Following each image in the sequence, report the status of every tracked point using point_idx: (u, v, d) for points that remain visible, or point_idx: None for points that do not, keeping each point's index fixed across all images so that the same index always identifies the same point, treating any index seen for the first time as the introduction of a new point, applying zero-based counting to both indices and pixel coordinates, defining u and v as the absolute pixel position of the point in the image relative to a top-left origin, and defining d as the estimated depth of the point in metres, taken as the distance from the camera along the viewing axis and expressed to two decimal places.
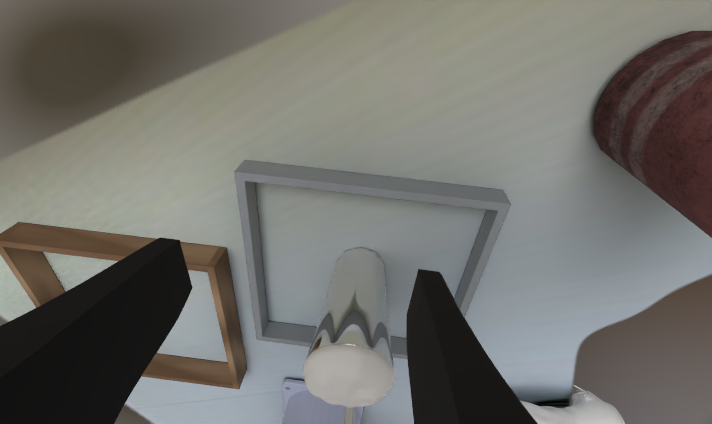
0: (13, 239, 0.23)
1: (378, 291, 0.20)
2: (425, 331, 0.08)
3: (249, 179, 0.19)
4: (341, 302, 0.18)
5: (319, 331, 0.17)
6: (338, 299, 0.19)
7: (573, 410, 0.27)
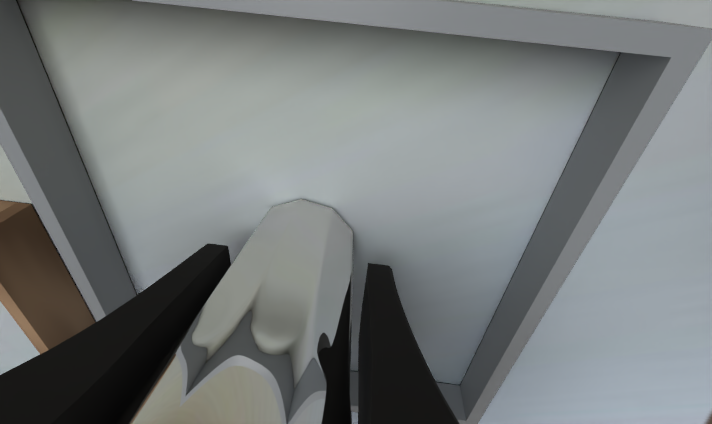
0: None
1: (327, 296, 0.08)
2: (366, 323, 0.08)
3: None
4: (206, 329, 0.06)
5: None
6: (204, 320, 0.07)
7: None
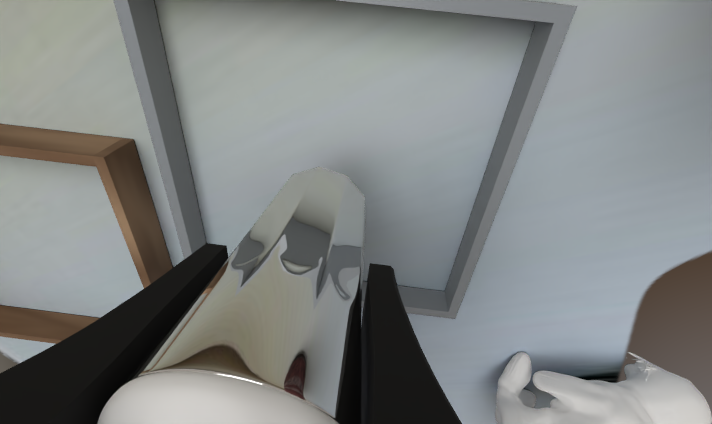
0: None
1: (342, 241, 0.09)
2: (367, 324, 0.08)
3: None
4: (243, 259, 0.08)
5: (169, 328, 0.07)
6: (240, 253, 0.08)
7: (632, 385, 0.20)
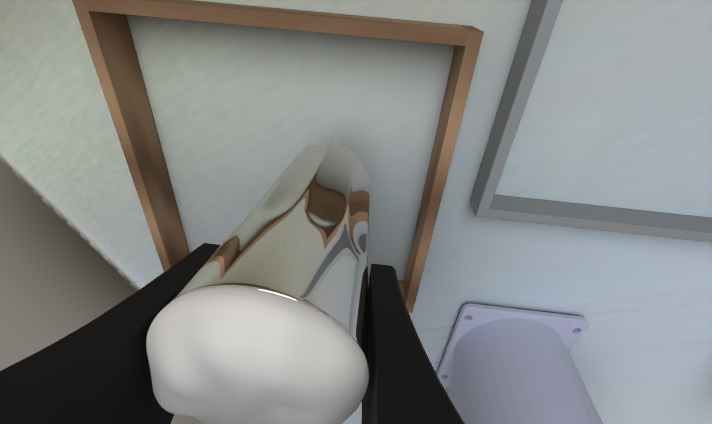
0: None
1: (354, 207, 0.10)
2: (370, 324, 0.08)
3: None
4: (272, 210, 0.09)
5: (207, 261, 0.07)
6: (268, 206, 0.09)
7: None
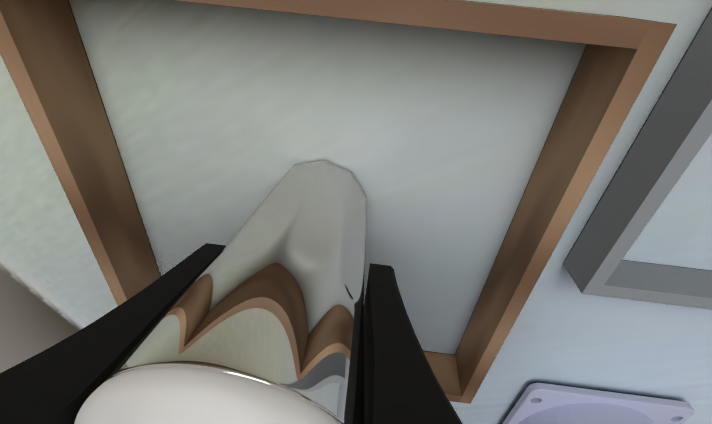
0: None
1: (348, 239, 0.09)
2: (368, 324, 0.08)
3: None
4: (248, 248, 0.07)
5: (163, 316, 0.06)
6: (244, 241, 0.07)
7: None
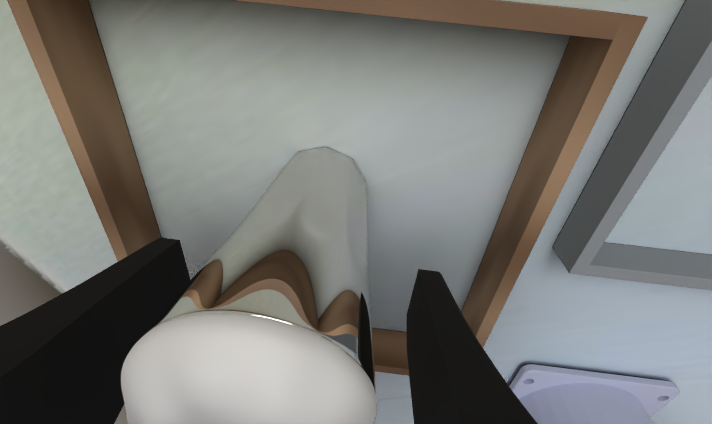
0: None
1: (353, 217, 0.09)
2: (425, 331, 0.08)
3: None
4: (264, 221, 0.08)
5: (191, 280, 0.07)
6: (259, 217, 0.08)
7: None
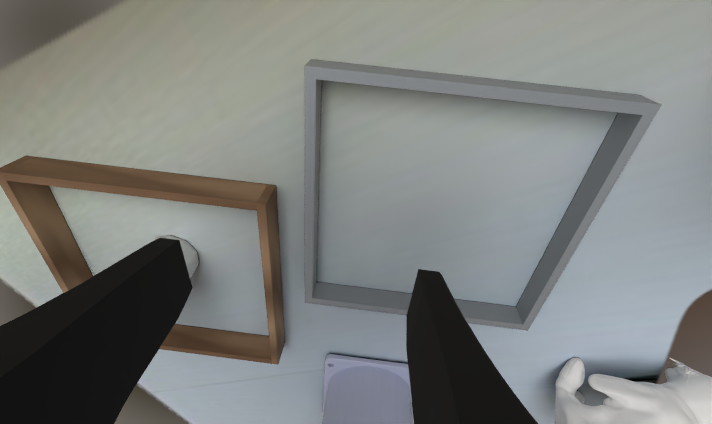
0: (20, 171, 0.19)
1: None
2: (425, 331, 0.08)
3: (322, 76, 0.15)
4: None
5: None
6: None
7: (675, 386, 0.23)
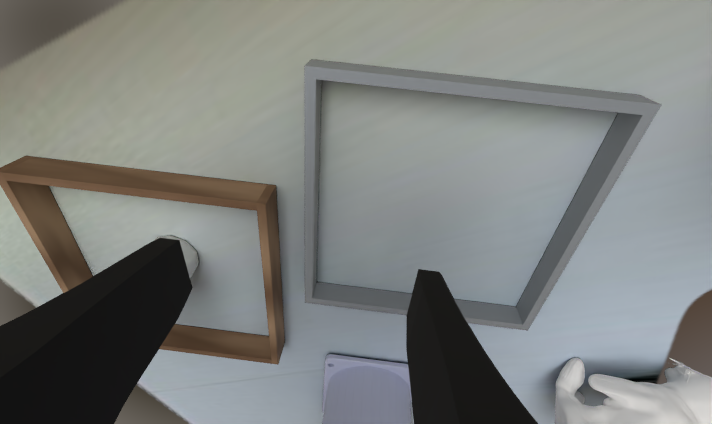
0: (20, 171, 0.19)
1: None
2: (425, 331, 0.08)
3: (322, 76, 0.15)
4: None
5: None
6: None
7: (675, 386, 0.23)
